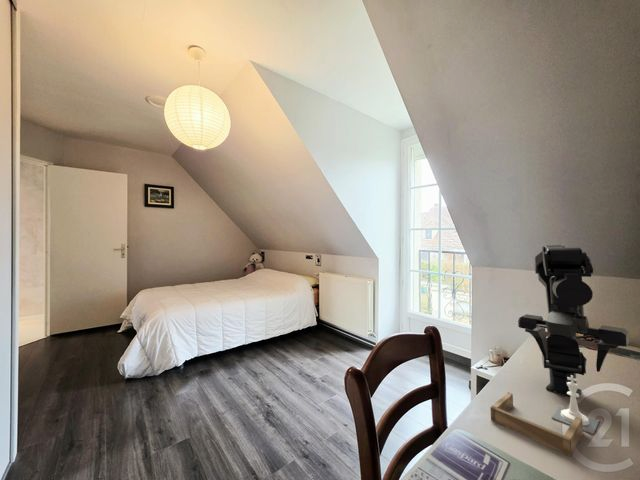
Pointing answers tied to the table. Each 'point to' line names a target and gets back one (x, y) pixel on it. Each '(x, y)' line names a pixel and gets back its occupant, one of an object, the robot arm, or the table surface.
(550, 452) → the table surface
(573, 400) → the chess piece
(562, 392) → the robot arm
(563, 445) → the wooden frame
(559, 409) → the pad
